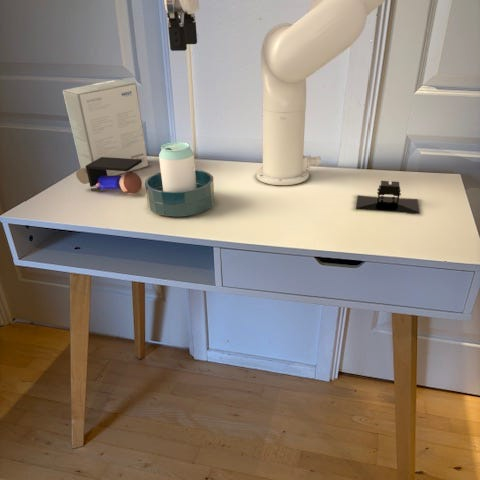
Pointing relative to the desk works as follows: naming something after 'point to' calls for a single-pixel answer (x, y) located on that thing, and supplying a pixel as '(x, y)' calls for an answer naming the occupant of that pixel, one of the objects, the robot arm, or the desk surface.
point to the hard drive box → (106, 122)
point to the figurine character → (98, 176)
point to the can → (177, 167)
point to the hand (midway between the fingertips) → (184, 47)
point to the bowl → (180, 196)
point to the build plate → (388, 200)
